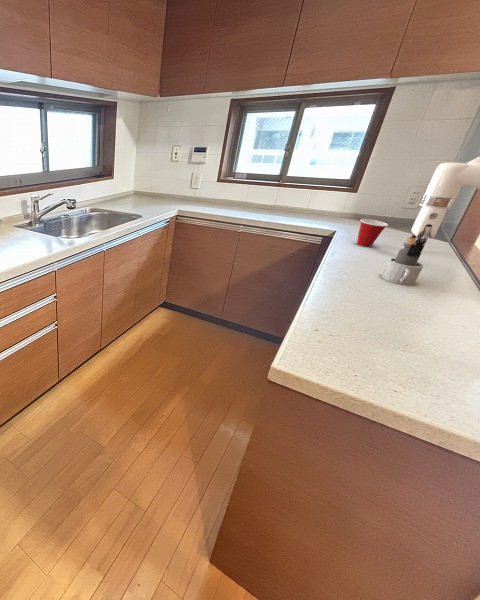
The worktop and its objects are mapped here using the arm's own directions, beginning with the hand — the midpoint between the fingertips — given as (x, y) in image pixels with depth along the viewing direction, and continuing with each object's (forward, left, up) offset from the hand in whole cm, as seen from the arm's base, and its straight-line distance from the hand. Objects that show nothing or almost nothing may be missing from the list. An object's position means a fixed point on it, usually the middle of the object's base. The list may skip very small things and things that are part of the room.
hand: (411, 253), depth 117 cm
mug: (0, +2, -10) cm, 11 cm away
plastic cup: (+7, -51, -11) cm, 53 cm away
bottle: (0, 0, -10) cm, 10 cm away
